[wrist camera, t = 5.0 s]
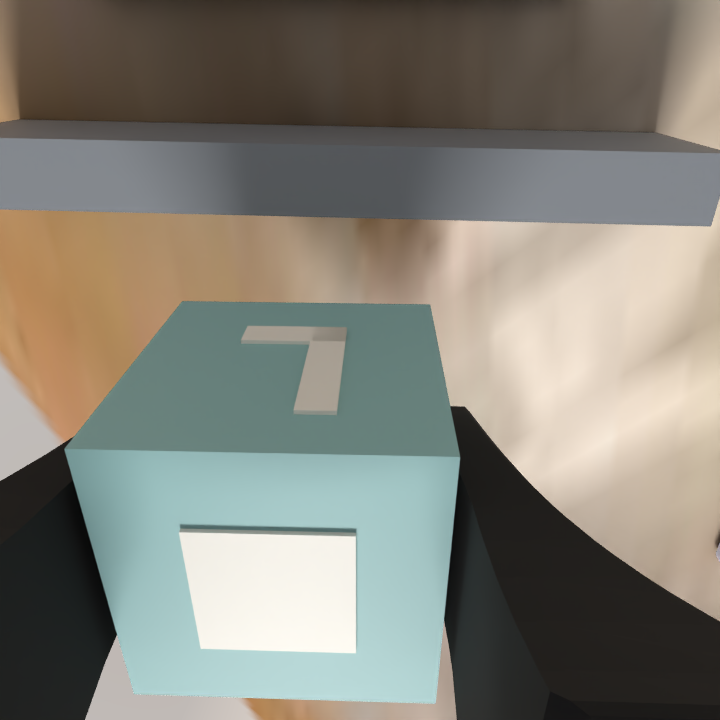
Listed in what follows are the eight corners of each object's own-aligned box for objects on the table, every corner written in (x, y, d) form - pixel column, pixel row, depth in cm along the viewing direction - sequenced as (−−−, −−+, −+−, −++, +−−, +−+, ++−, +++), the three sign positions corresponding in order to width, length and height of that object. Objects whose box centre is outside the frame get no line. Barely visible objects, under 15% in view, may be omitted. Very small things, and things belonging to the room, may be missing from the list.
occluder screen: (656, 132, 16) (732, 153, 13) (642, 191, 17) (710, 226, 14) (19, 119, 17) (-79, 136, 13) (32, 177, 17) (-57, 207, 14)
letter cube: (430, 301, 12) (461, 455, 7) (418, 498, 14) (436, 708, 10) (182, 298, 12) (59, 447, 7) (210, 493, 14) (132, 698, 10)
